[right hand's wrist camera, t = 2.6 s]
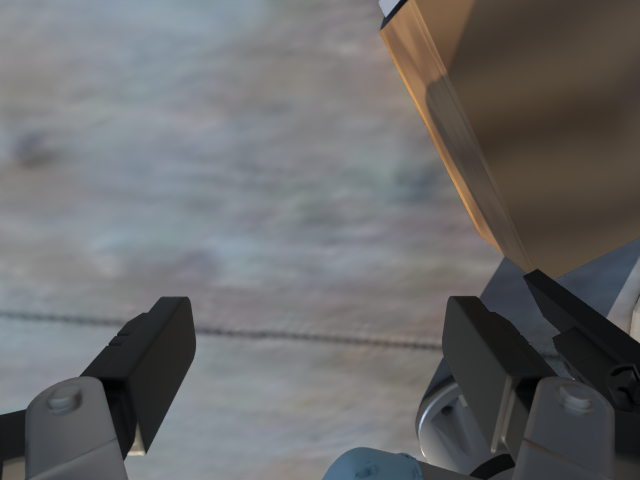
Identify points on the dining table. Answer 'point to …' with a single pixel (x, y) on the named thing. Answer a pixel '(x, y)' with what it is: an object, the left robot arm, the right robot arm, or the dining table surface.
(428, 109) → the cabinet
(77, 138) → the dining table surface
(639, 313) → the wall clock
